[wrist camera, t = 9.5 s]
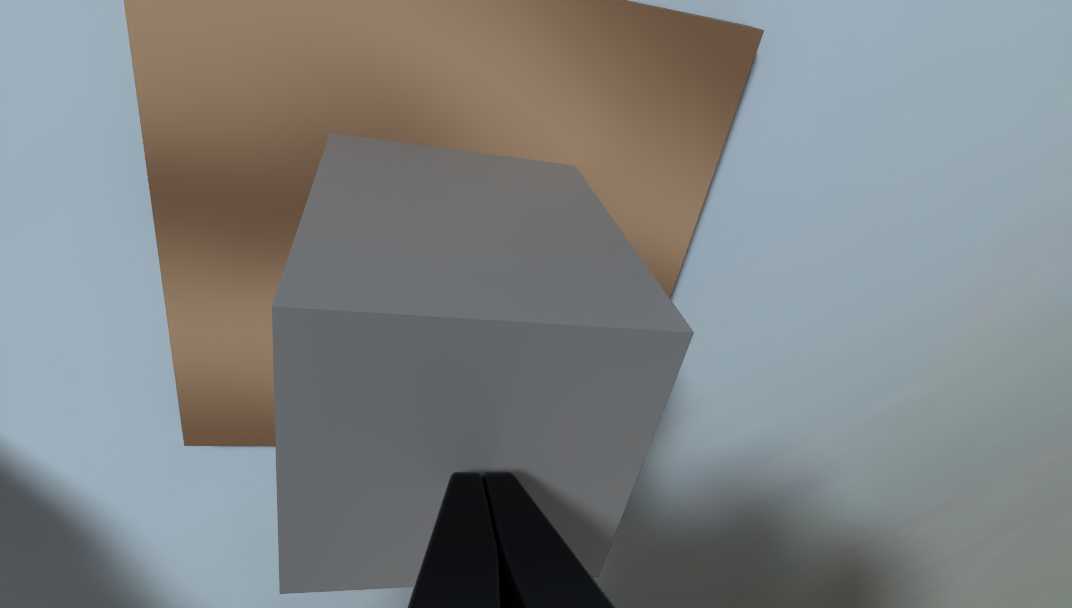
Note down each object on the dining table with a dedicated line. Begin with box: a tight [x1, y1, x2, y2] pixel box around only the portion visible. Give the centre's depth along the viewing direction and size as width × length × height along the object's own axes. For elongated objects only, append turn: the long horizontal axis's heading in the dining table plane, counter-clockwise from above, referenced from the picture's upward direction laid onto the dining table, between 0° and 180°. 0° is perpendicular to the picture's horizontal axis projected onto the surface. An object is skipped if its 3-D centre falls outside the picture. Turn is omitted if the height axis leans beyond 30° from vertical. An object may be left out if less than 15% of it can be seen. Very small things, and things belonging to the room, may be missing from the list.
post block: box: [124, 0, 764, 446], centre depth 12 cm, size 12×12×6 cm
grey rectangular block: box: [272, 133, 694, 594], centre depth 11 cm, size 5×5×7 cm
